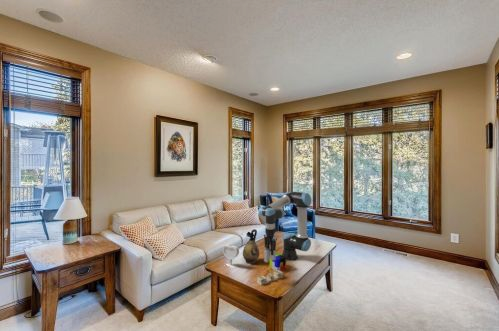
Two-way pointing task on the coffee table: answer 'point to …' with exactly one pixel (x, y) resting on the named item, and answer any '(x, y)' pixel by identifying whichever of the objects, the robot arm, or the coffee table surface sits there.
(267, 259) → the clip
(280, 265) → the puzzle toy
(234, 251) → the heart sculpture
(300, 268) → the coffee table surface
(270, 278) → the cream lumpy bar
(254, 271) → the coffee table surface
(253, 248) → the ceramic jug
